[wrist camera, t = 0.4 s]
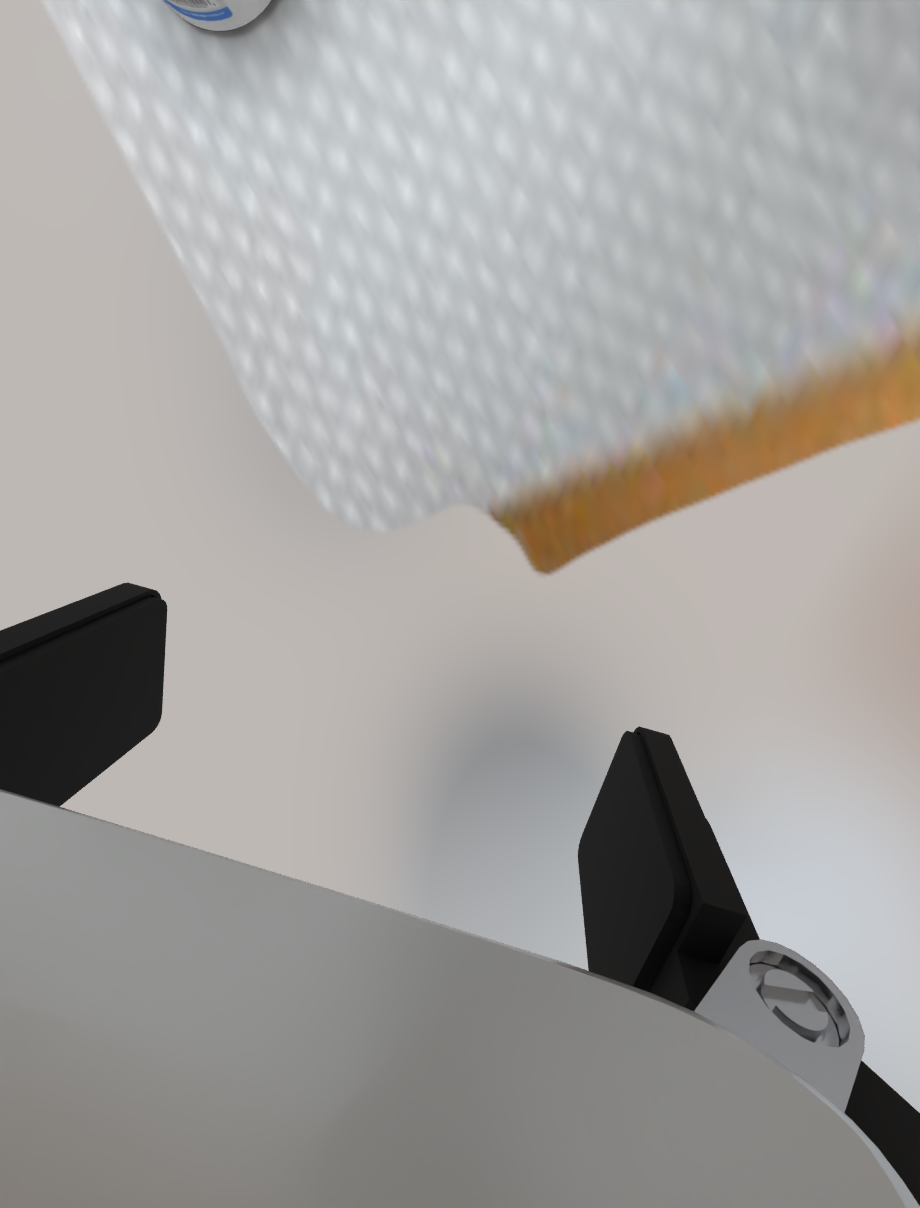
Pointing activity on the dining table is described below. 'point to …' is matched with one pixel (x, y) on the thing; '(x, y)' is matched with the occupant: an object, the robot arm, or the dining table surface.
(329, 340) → the dining table surface
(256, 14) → the supplement tub
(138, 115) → the dining table surface
